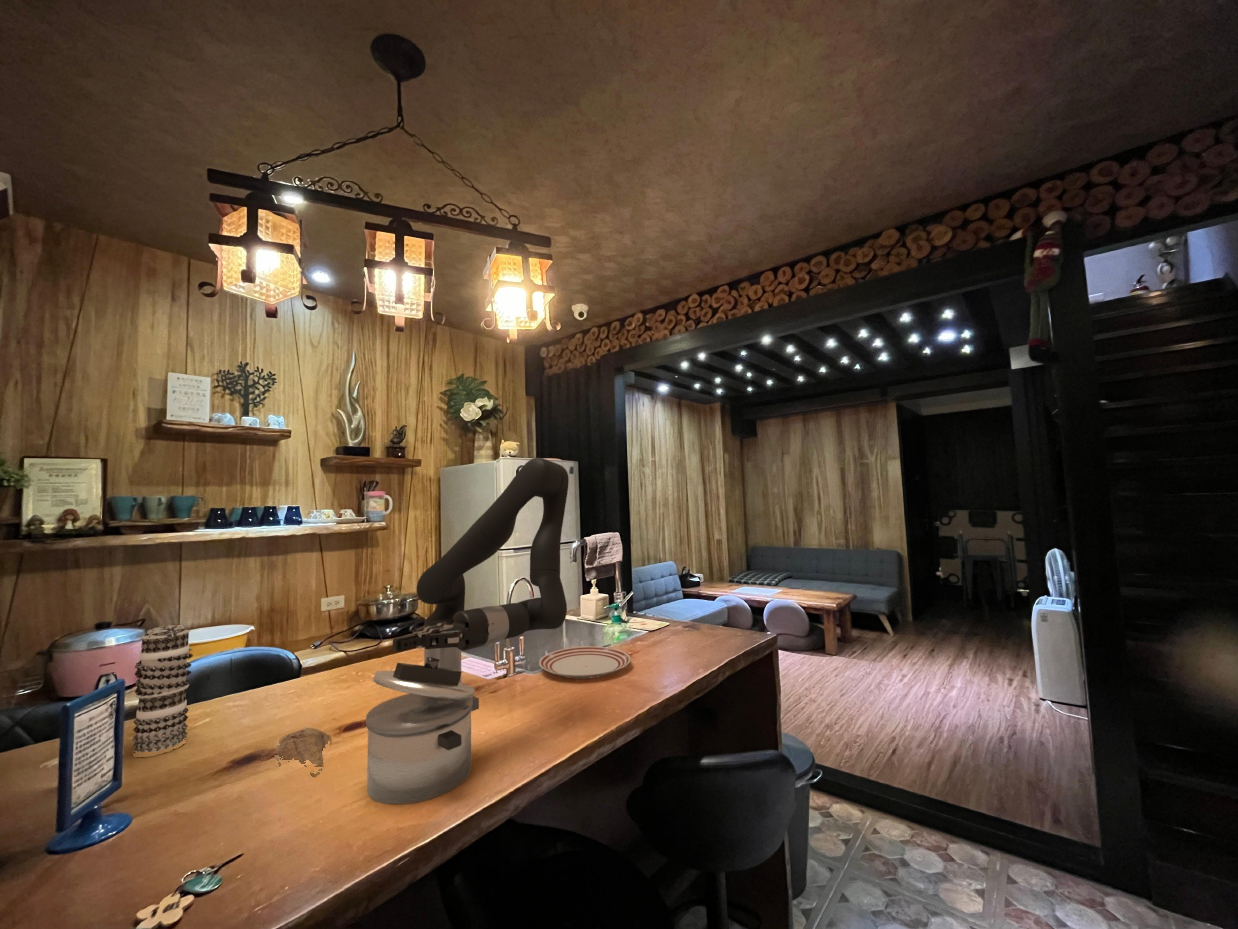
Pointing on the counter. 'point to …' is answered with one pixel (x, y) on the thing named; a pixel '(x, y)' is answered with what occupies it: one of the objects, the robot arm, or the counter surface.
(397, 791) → the cooker pot
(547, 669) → the dinner plate
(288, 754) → the fish fossil
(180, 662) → the decorative candle
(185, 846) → the counter surface
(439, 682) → the cooker lid
